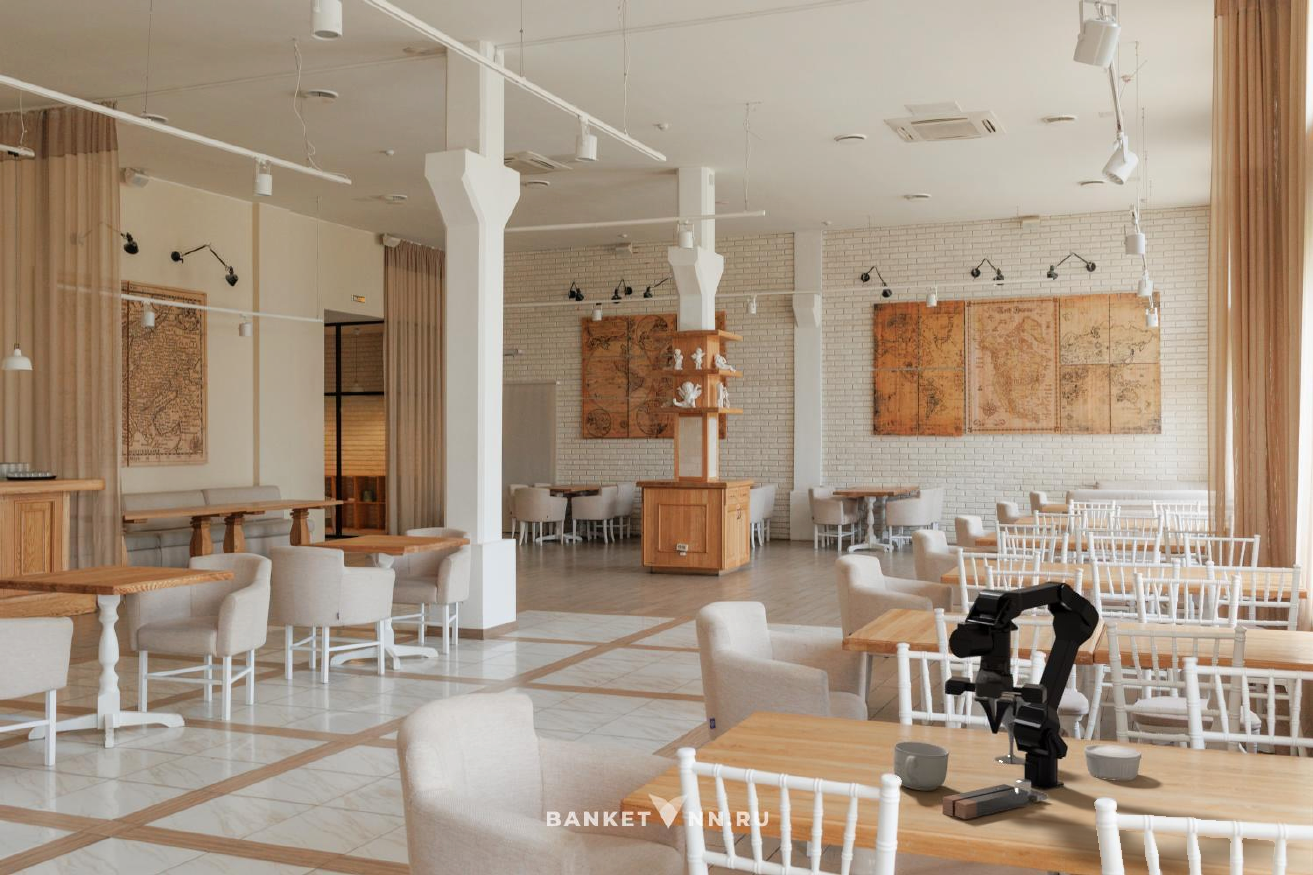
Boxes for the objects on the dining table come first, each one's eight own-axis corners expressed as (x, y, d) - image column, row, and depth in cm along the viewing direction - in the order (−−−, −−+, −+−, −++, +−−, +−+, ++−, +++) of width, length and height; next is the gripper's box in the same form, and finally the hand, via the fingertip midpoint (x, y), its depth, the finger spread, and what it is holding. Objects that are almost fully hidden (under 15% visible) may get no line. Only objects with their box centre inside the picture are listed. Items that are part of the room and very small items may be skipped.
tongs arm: (1017, 801, 221) (1017, 787, 221) (1027, 804, 219) (1027, 791, 219) (955, 815, 212) (955, 801, 212) (965, 819, 210) (965, 804, 210)
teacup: (908, 776, 239) (909, 737, 239) (957, 786, 232) (958, 746, 232) (876, 790, 228) (876, 750, 229) (926, 801, 222) (926, 759, 222)
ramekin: (1089, 765, 250) (1089, 741, 250) (1144, 773, 244) (1145, 748, 244) (1079, 777, 240) (1079, 752, 240) (1136, 785, 234) (1136, 759, 234)
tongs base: (1024, 794, 227) (1024, 774, 227) (1047, 801, 222) (1047, 780, 222) (942, 813, 214) (942, 791, 214) (964, 821, 210) (964, 798, 210)
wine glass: (1038, 762, 251) (1038, 693, 251) (1008, 766, 248) (1008, 696, 248) (1014, 753, 258) (1014, 687, 258) (985, 757, 255) (985, 689, 256)
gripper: (938, 655, 224) (937, 736, 224) (1038, 664, 216) (1037, 748, 215) (951, 647, 234) (950, 724, 234) (1047, 656, 226) (1046, 735, 225)
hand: (995, 733), depth 227 cm, fingers closed
